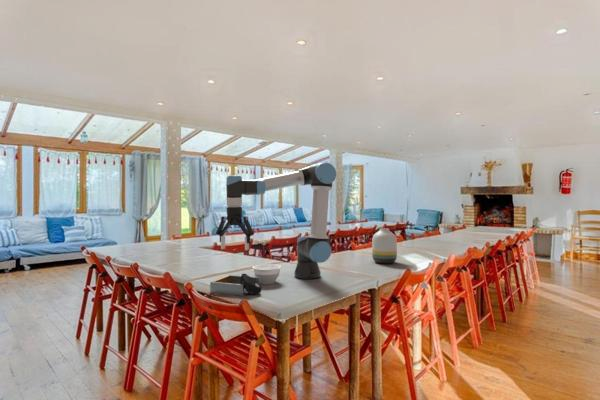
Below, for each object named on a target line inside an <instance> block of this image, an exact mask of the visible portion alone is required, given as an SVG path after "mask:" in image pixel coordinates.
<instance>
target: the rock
mask: <svg viewBox="0 0 600 400" xmlns="http://www.w3.org/2000/svg"><path fill="white" fill-rule="evenodd" d="M240 276H241V279H240V282H241V284H243V285H244V288H245V290H246V291H247V292H249V293H248V294H252V295H259V294H261V292H262V286H261V284H260V285H259V283H258V282H257V281H256V279H255V278H253V277H254V276H250V275H248V274H247V273H241V275H240Z"/></svg>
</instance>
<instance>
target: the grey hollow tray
mask: <svg viewBox="0 0 600 400" xmlns="http://www.w3.org/2000/svg"><path fill="white" fill-rule="evenodd" d="M252 277H253V278H255V279H256V281H257V282H258V283H259V285H260V286H261V283H260V277H255V276H252ZM240 279H241V275H236V274H235V275H232V274H227V275H225V276H222V277H219V278H218V279H215V280H213V281H210V282H209V286H210V287H209V290H210V291H209V292H210V293H213V294H215V293H217V294H221V295H222V294H223V295H230V296H231V295H232V296H241V297H244V296H246V295H248V294H250V293H249V292H247V291H246V290H245V288H244V285H243V284H241V282H240Z"/></svg>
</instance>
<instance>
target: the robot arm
mask: <svg viewBox="0 0 600 400" xmlns="http://www.w3.org/2000/svg"><path fill="white" fill-rule="evenodd" d="M336 179H337V170H336V168H335V167H334V165H333V164H331V163H330V162H326V161H324V162H318V163H314V164H311V165H309V166H306V167H303V168H299V169H297V171H292V172H287V173H281V174H278V175H273V176H268V177H267V176H266V177H261V178H258V179H257V178H256V179H243V177H242V175H228V176H227V177H226V185H225V186H226V215H227V216H226V215H225V216H224V215H222V216H221V219H220V220H221V221H220V222H219V225H218V227H217V230H216V232H215V234H216V235H218V236H219V243H220V249H221V250H223V249H226V235H225V234H226V232H227V231H228V230H229V229H230V227H231V226H238V227H239V228H240V230H241V231H242V232H243V234H245V236H244V250H245V251H248V250H250V244H251V237H252V236H254V235H255V232H254V231H253V228H252V226H251V223H250V221H249V216H247V215H246V216H243V207H242V206H243V195H244V196H251V195H255V196H256V195H257V196H260V195H265V193H266V192H269V191H270V192H271V191H275V190H280V189H283V188H284V189H285V188H289V187H294V186H299V185H300V186H310V187H311V189H312V190H313V191H312V193H313V194H312V205H311V206H312V207H311V209H312V210H311V223H310V233H309V235H307V236H299V237H297V241H296V242H297V243H296V245H297V246H296V247H297V252H296V253H297V254H296V255H297V261H296V266H295V270H294V277H295V278H296V279H306V280H307V279H308V280H309V279H318V278H320V277H321V270H320V266H319V264H322V263H325V262H326V261H328V260H329V259H330V257H331V255H332V247H331V245H330V244H329V242H330V241H329V239H330V237H329V236H328V235H327V229H328V228H327V227H328V226H327V225H328V214H329V213H328V212H329V198H330V197H329V196H330V190H332V189H333V182H334V181H335V180H336ZM226 221H227V222H226ZM242 221H243V222H242Z"/></svg>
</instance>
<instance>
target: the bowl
mask: <svg viewBox="0 0 600 400" xmlns="http://www.w3.org/2000/svg"><path fill="white" fill-rule="evenodd" d="M251 268H252V269H253V273H254V277H260V285H269V284H270V285H271V284H274V283H276V281H277V279H278V277H279V275H280V272H281V270H280V269H282V265H280V264H276V263H275V264H272V263H264V264H256V265H253V266H252V267H251Z"/></svg>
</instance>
